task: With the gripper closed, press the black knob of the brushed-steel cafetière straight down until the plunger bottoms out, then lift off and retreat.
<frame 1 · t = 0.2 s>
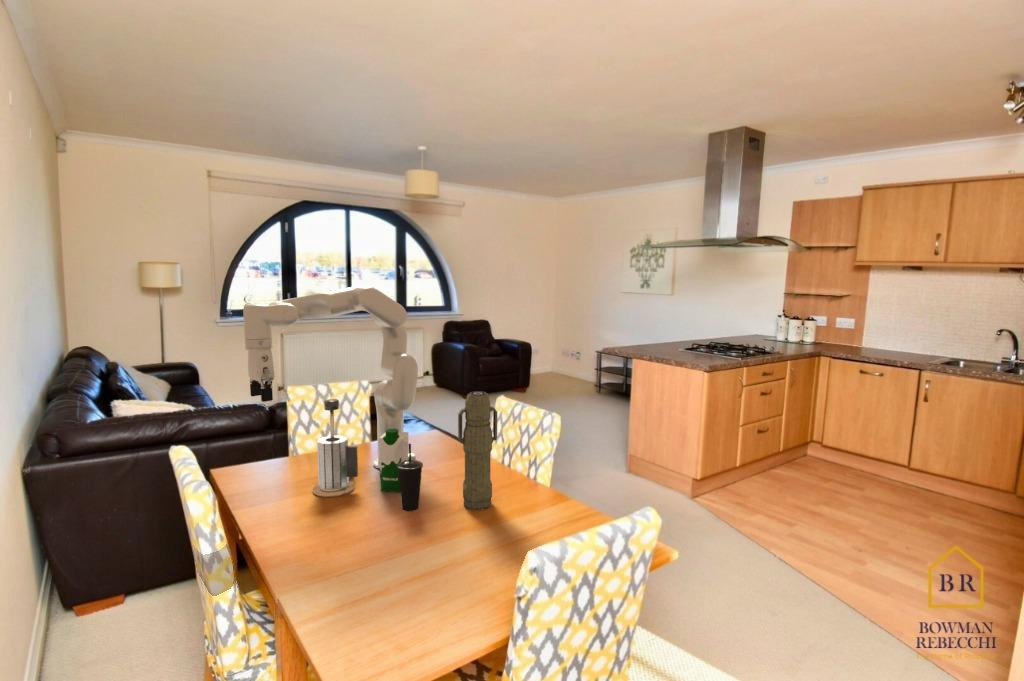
hand: (261, 398, 166), 31 cm above the table, tool pointing down, fingers open, 9 cm apart
cafetiere: (334, 489, 174), on the table
milk carton: (394, 487, 176), on the table
pale blue egg: (343, 475, 186), on the table
plunger: (332, 428, 172), point 20 cm above the table, slide at 0.0 cm
thermos: (477, 504, 164), on the table
drinking cup: (410, 508, 161), on the table
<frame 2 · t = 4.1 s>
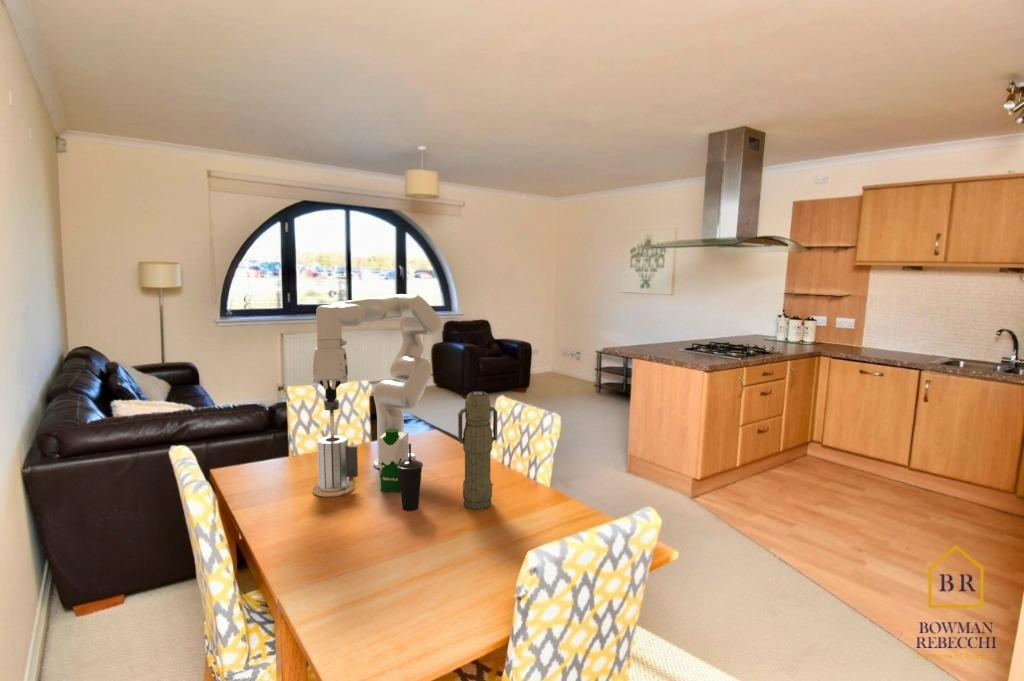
hand: (331, 400, 170), 30 cm above the table, tool pointing down, fingers closed
plunger: (332, 429, 172), point 20 cm above the table, slide at 0.0 cm, touching gripper
everything else where it was.
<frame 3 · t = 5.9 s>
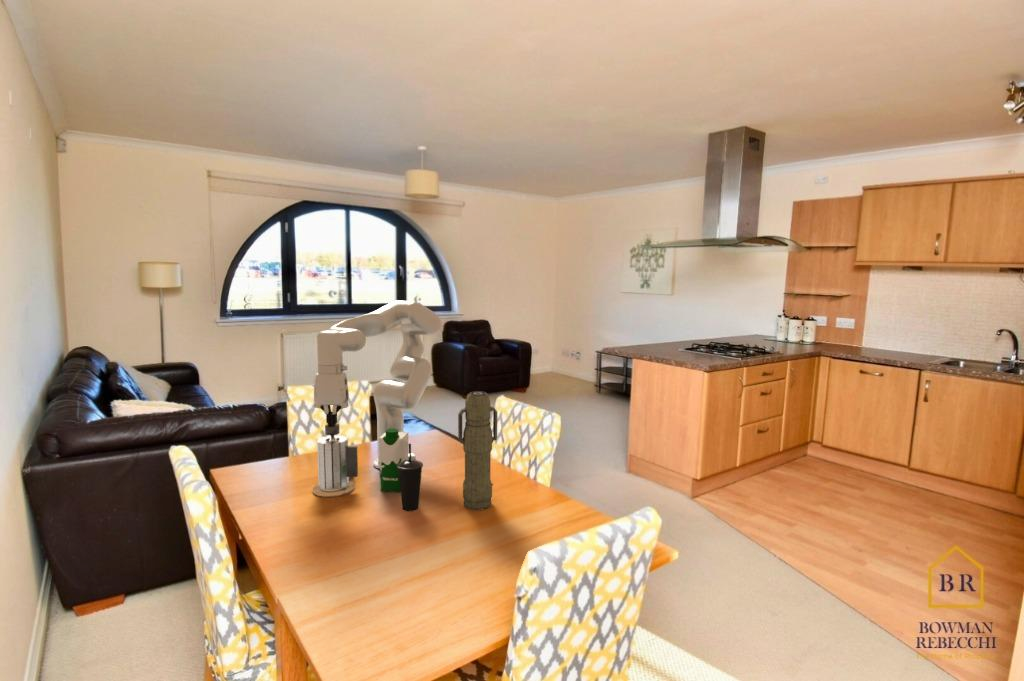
hand: (331, 425, 171), 22 cm above the table, tool pointing down, fingers closed
plunger: (333, 453, 173), point 12 cm above the table, slide at 8.1 cm, touching gripper
everything else where it was.
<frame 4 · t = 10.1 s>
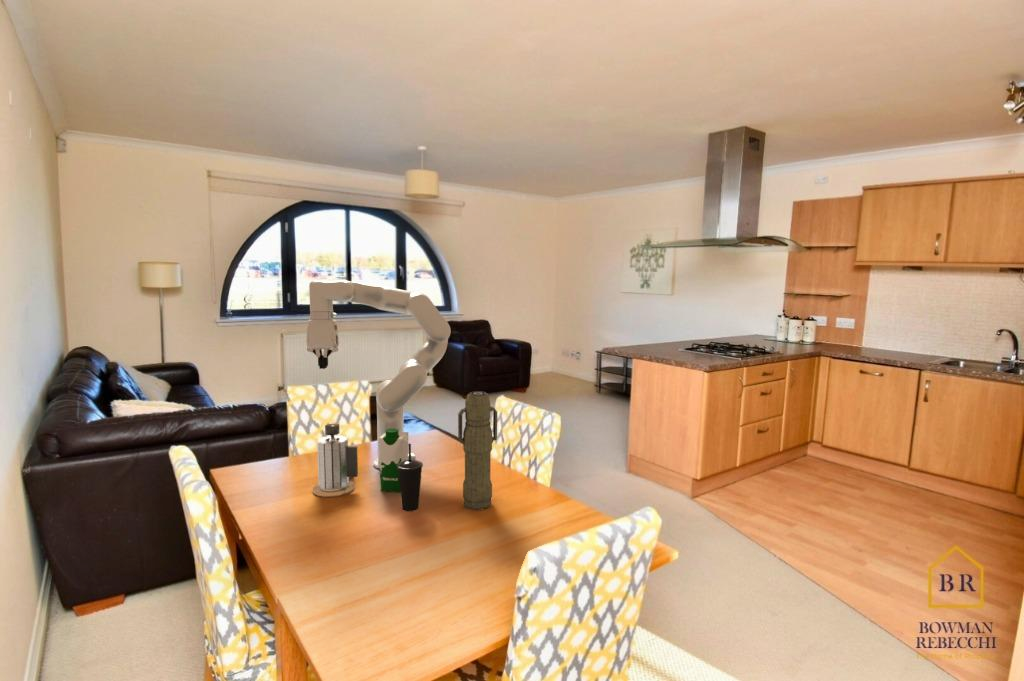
hand: (323, 368, 187), 37 cm above the table, tool pointing down, fingers closed
plunger: (333, 453, 173), point 12 cm above the table, slide at 8.1 cm
everything else where it was.
at the end: plunger slide at 8.1 cm; plunger resting on cafetiere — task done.
